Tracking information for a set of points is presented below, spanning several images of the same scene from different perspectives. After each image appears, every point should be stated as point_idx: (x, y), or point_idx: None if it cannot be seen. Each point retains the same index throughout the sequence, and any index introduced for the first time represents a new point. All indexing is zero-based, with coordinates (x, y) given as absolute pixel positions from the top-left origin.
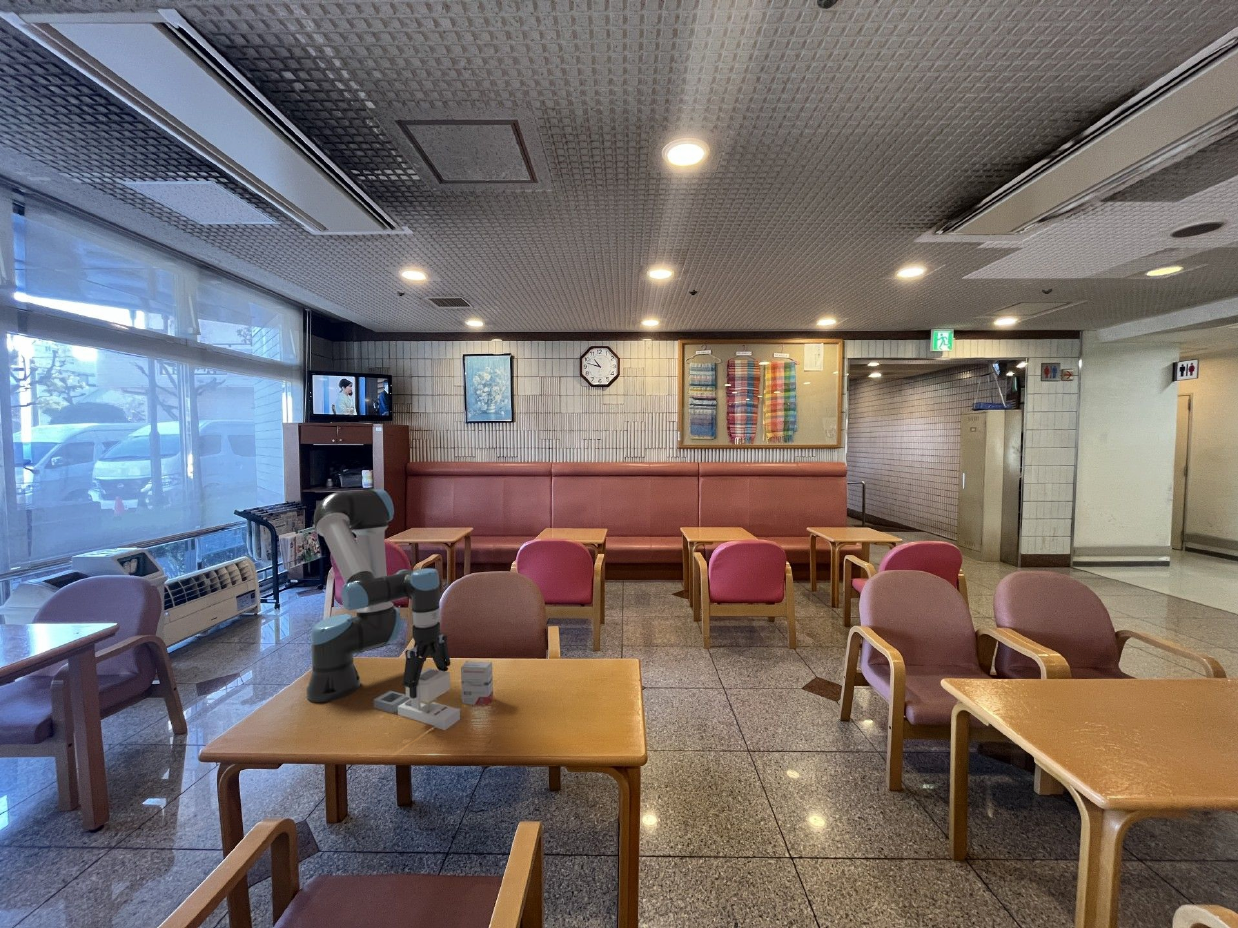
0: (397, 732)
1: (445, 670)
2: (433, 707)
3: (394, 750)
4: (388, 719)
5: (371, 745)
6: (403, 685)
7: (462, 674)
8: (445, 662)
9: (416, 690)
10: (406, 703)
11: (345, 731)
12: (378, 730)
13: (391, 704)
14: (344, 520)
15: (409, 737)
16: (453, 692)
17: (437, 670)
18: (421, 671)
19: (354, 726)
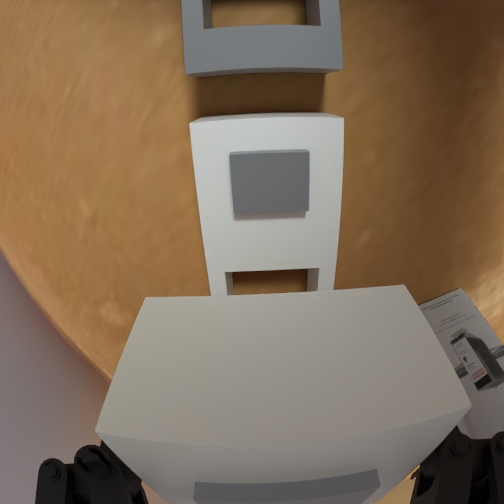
0: (115, 244)
1: (411, 478)
2: (312, 286)
3: (68, 317)
4: (154, 98)
5: (25, 230)
6: (44, 468)
7: (461, 419)
8: (479, 475)
9: None
10: (230, 168)
11: (12, 44)
12: (74, 154)
13: (185, 60)
14: None
15: (129, 309)
16: (485, 207)
17: (401, 473)
18: (363, 437)
19: (44, 29)
